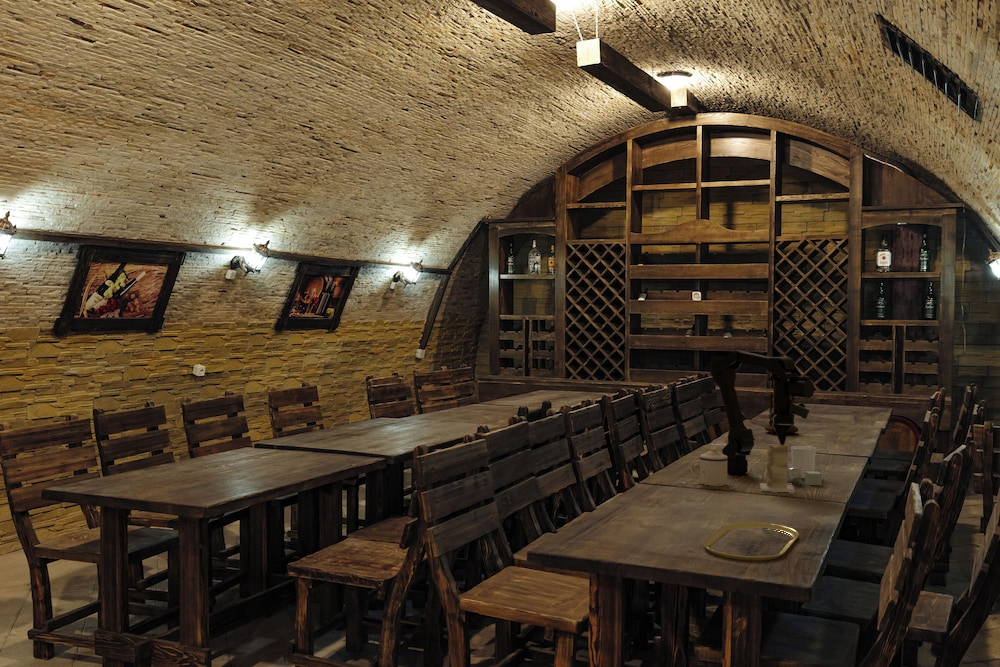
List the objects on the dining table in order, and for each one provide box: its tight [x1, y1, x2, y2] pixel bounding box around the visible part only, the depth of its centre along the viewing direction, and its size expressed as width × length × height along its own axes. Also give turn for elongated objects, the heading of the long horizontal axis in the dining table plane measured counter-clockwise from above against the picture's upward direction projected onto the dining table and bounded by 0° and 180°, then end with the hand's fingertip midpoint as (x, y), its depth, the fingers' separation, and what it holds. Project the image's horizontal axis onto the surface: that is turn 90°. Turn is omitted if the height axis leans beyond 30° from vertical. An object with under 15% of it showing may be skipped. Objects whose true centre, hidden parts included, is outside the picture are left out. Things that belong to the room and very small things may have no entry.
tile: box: [759, 482, 796, 494], centre depth 288 cm, size 10×9×1 cm
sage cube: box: [804, 470, 823, 486], centre depth 297 cm, size 4×4×4 cm
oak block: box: [766, 443, 789, 488], centre depth 288 cm, size 4×4×13 cm
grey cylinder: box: [787, 466, 802, 485], centre depth 299 cm, size 4×4×5 cm
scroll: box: [764, 393, 799, 436], centre depth 416 cm, size 15×15×20 cm
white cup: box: [790, 445, 817, 479], centre depth 310 cm, size 8×8×10 cm
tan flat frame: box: [703, 521, 800, 562], centre depth 223 cm, size 19×35×2 cm, turn 152°
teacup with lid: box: [690, 447, 728, 487], centre depth 297 cm, size 12×9×12 cm
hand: (781, 442), depth 300 cm, fingers open, 9 cm apart
